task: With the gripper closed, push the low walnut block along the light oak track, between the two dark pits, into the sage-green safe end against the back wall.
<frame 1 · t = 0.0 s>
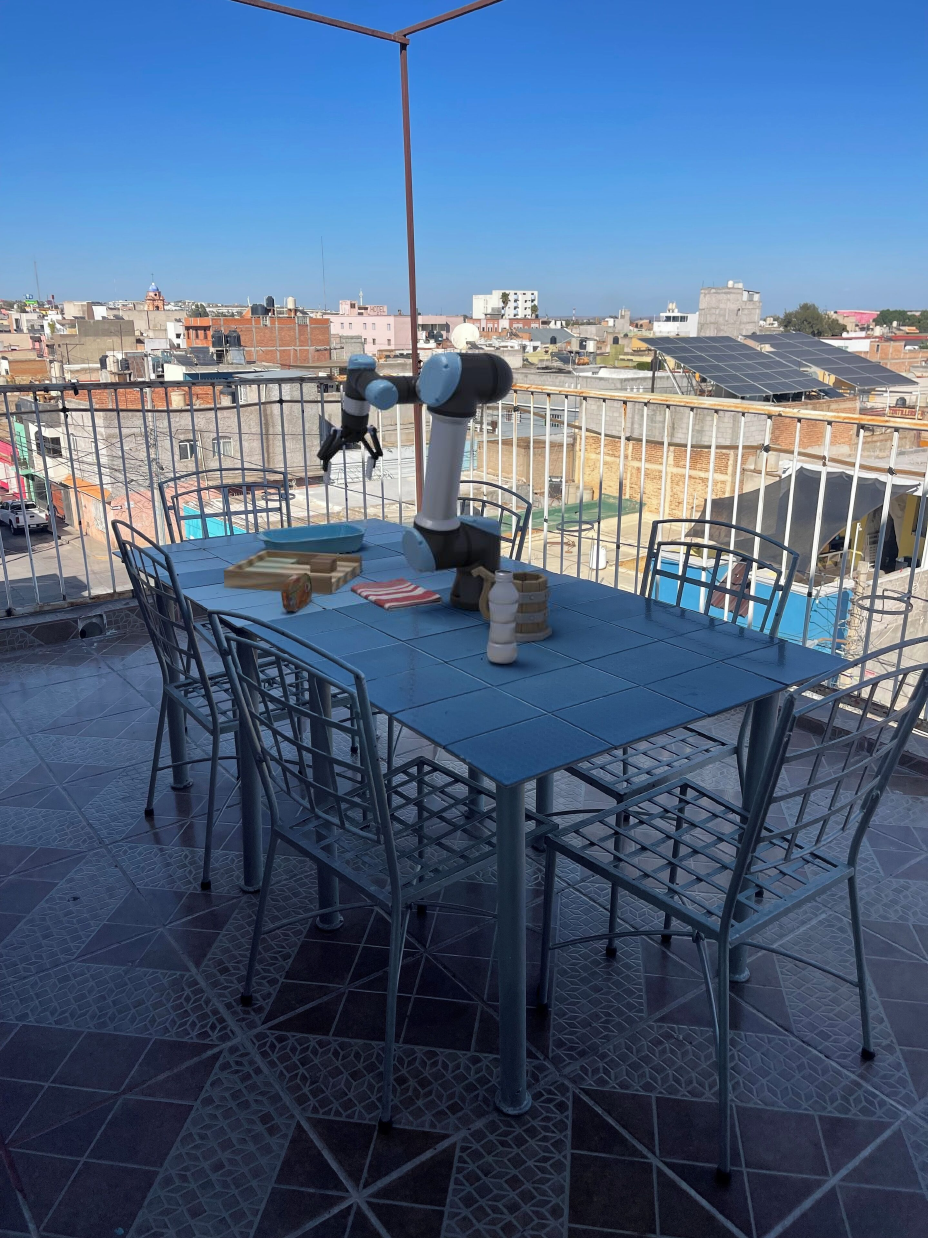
hand: (347, 479, 250), 28 cm above the table, tool tilted 20°, fingers open, 13 cm apart
house plant: (459, 562, 272), on the table
tin: (297, 608, 222), on the table
walnut block: (323, 570, 247), point 3 cm above the table, touching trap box
tankard: (509, 631, 204), on the table
dish towel: (396, 599, 232), on the table
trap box: (298, 579, 249), on the table
plastic bottle: (501, 662, 183), on the table
casserole dish: (313, 552, 286), on the table
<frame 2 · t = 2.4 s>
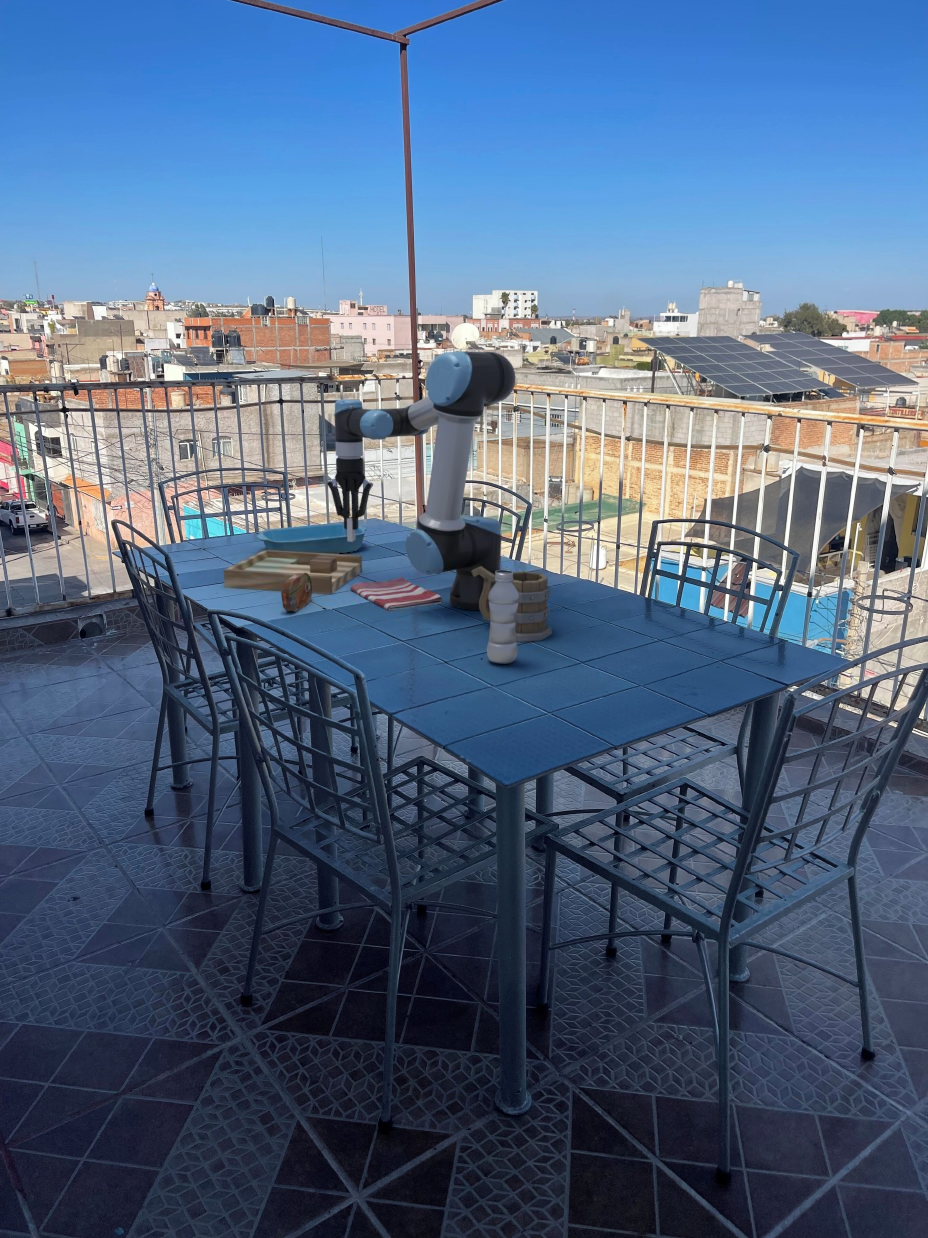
hand: (351, 540, 242), 12 cm above the table, tool pointing down, fingers closed
nothing on the table moved.
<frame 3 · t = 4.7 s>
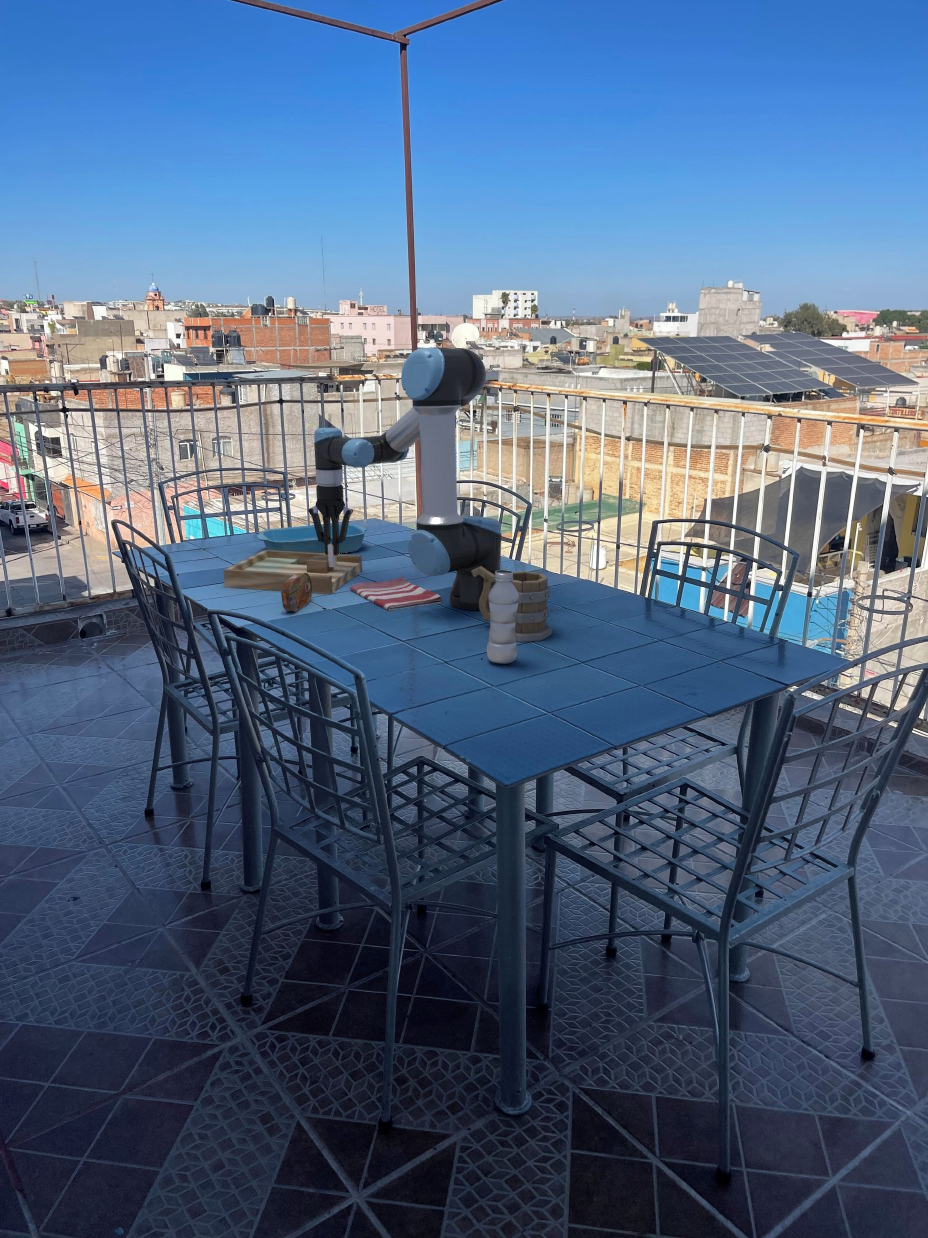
hand: (332, 565, 246), 5 cm above the table, tool pointing down, fingers closed
walnut block: (320, 570, 247), point 3 cm above the table, touching gripper, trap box
everything else where it was.
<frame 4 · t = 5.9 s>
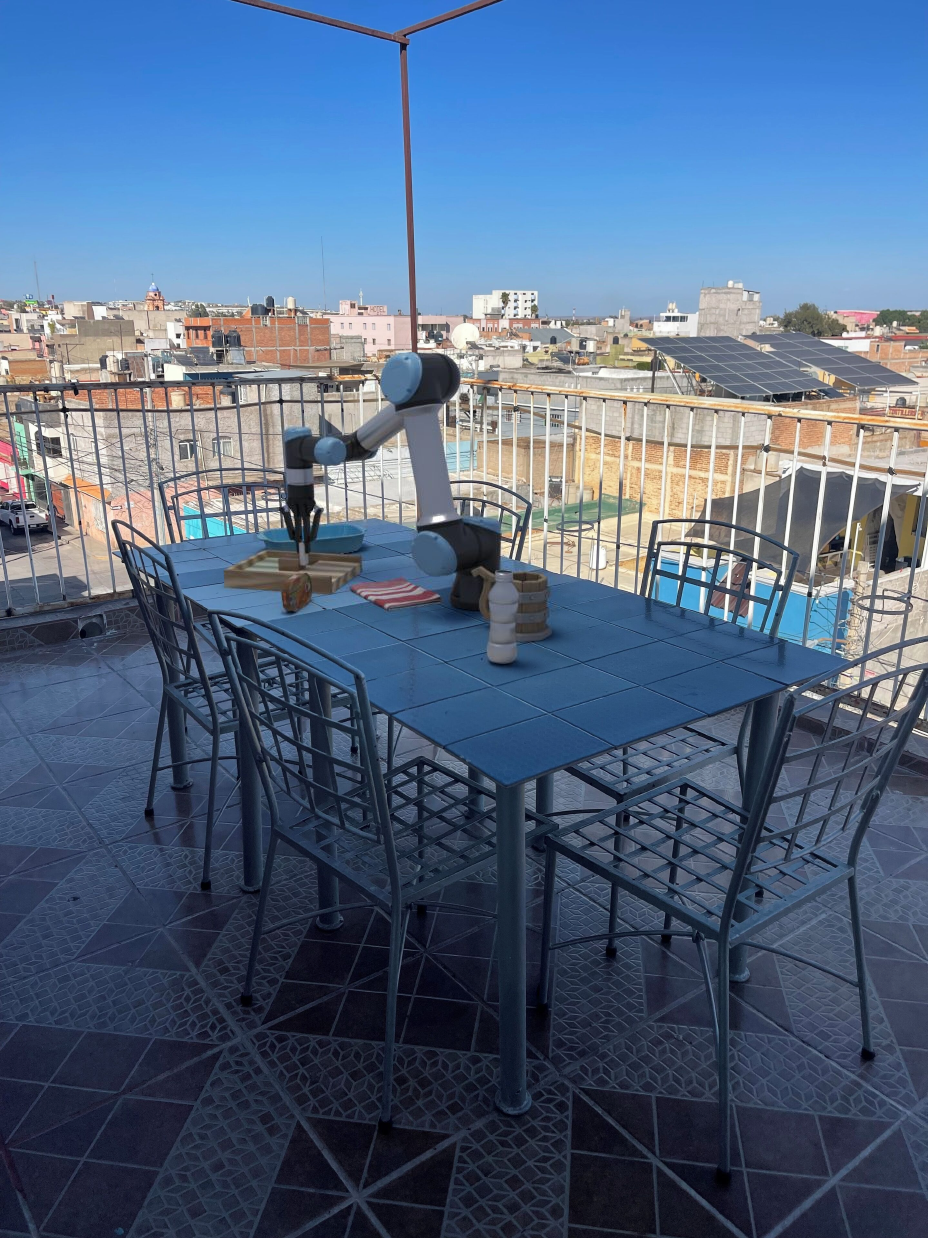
hand: (304, 564, 247), 5 cm above the table, tool pointing down, fingers closed
walnut block: (292, 568, 249), point 3 cm above the table, touching gripper
everything else where it was.
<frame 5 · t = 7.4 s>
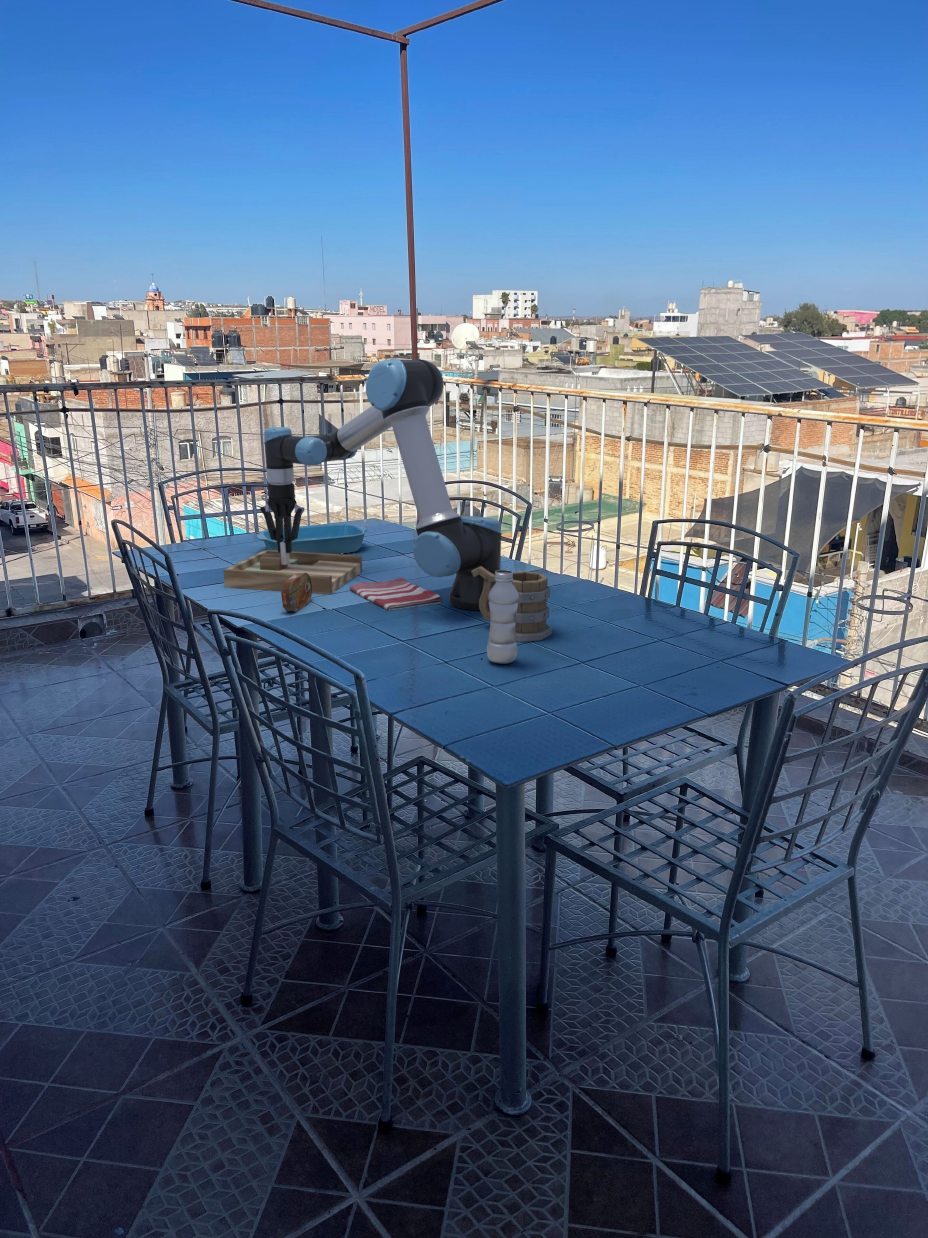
hand: (285, 563, 248), 4 cm above the table, tool pointing down, fingers closed
walnut block: (274, 567, 250), point 3 cm above the table, touching gripper, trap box
everything else where it was.
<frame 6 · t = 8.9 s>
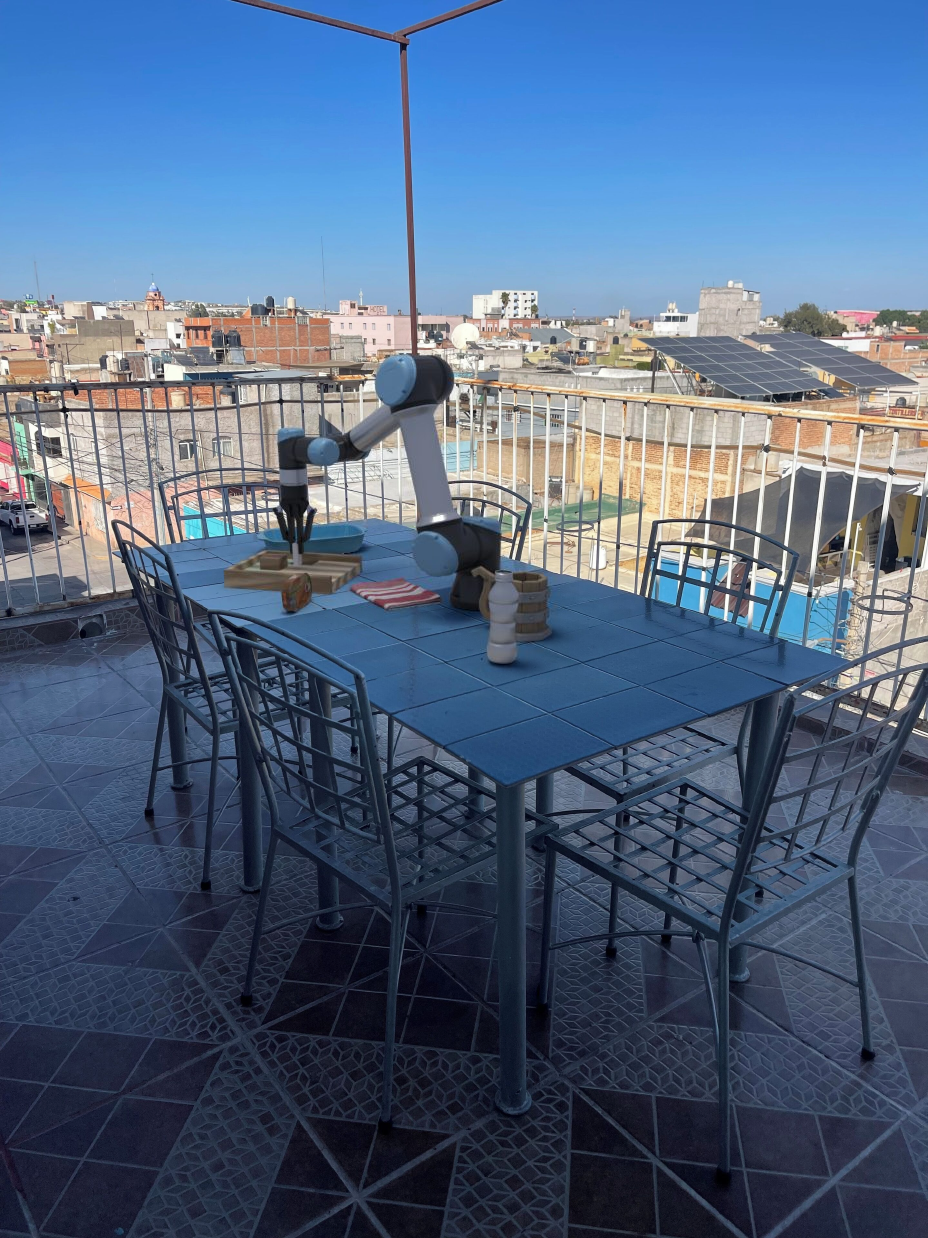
hand: (297, 564, 248), 4 cm above the table, tool pointing down, fingers closed
walnut block: (274, 567, 250), point 3 cm above the table, touching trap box
everything else where it was.
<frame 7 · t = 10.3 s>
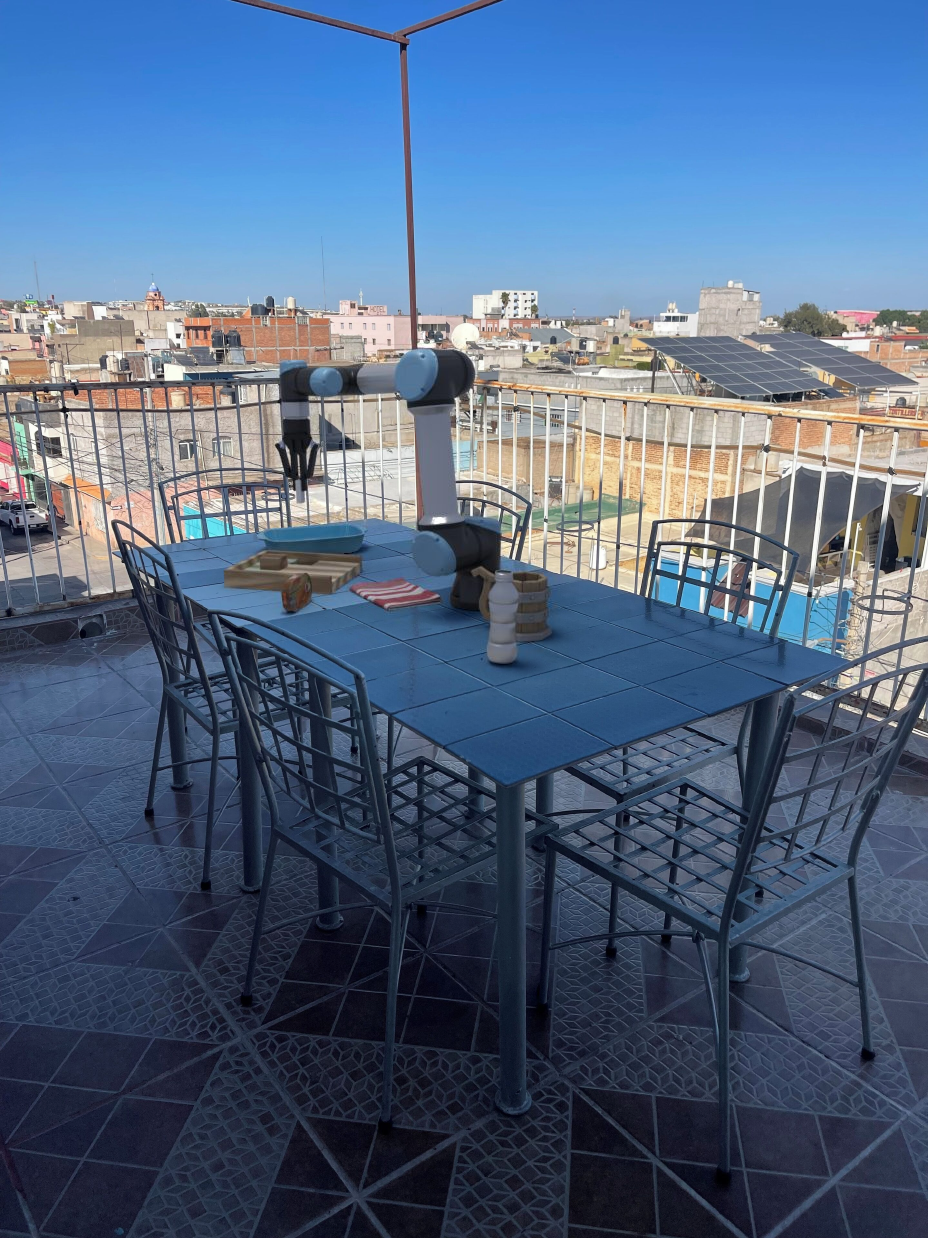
hand: (300, 502, 242), 23 cm above the table, tool pointing down, fingers closed
nothing on the table moved.
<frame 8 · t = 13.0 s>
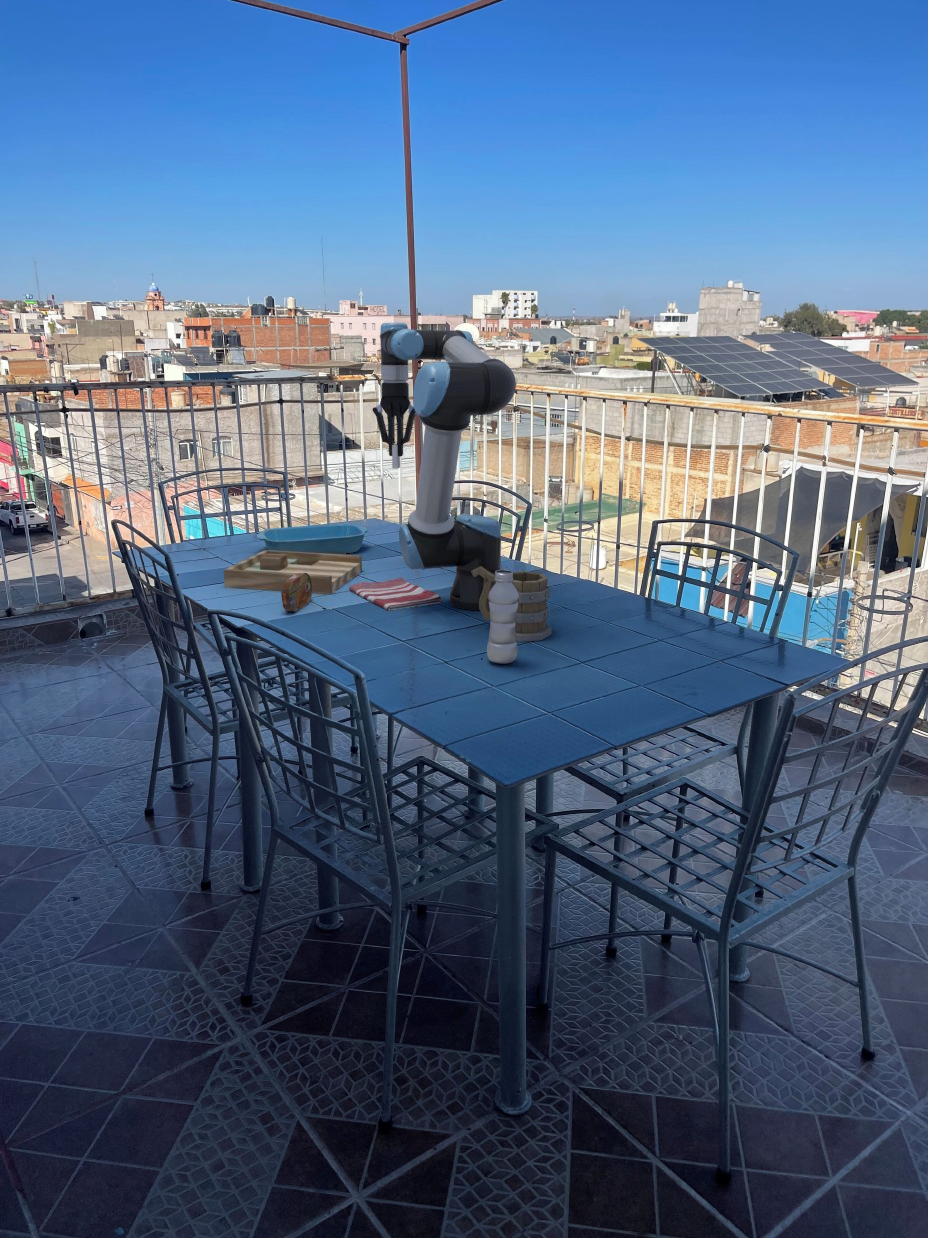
hand: (396, 467, 241), 32 cm above the table, tool pointing down, fingers closed
at the end: walnut block inside the target area on the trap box (1.8 cm from its centre), point 3.0 cm above the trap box's base; walnut block tilted 0° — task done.
